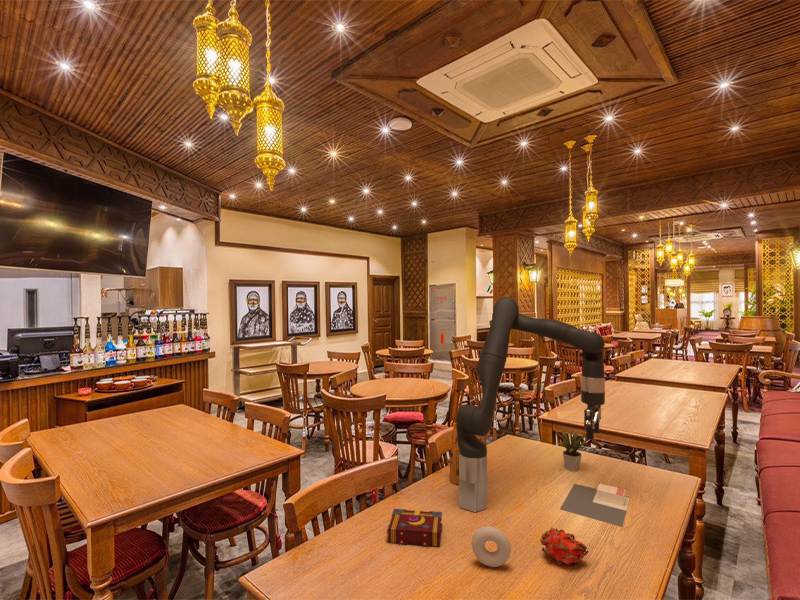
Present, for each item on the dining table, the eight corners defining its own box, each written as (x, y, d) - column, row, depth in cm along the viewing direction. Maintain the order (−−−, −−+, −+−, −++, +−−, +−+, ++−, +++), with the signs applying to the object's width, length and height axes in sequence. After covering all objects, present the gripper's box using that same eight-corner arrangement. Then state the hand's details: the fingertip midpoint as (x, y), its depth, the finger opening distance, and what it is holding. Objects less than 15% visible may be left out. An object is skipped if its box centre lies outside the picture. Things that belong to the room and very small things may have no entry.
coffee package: (450, 473, 160) (449, 418, 160) (482, 475, 157) (481, 419, 157) (448, 485, 150) (448, 426, 150) (482, 487, 148) (482, 427, 148)
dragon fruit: (536, 558, 110) (584, 575, 105) (538, 556, 103) (589, 574, 99) (541, 524, 114) (587, 539, 110) (543, 520, 107) (592, 536, 103)
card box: (596, 499, 137) (596, 489, 137) (599, 493, 141) (599, 482, 141) (623, 506, 132) (623, 495, 132) (625, 499, 137) (625, 488, 137)
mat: (622, 528, 121) (622, 526, 121) (559, 511, 131) (559, 508, 131) (630, 498, 139) (630, 496, 139) (574, 485, 149) (574, 483, 149)
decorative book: (440, 549, 112) (440, 531, 112) (383, 544, 114) (383, 526, 114) (442, 526, 123) (442, 510, 123) (390, 522, 126) (390, 506, 126)
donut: (511, 564, 105) (510, 526, 105) (511, 573, 102) (511, 533, 102) (472, 558, 108) (472, 521, 107) (471, 566, 104) (470, 528, 104)
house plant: (595, 479, 153) (595, 437, 153) (556, 474, 158) (556, 433, 158) (590, 465, 167) (590, 425, 167) (554, 461, 171) (554, 422, 171)
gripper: (586, 385, 149) (586, 429, 149) (576, 391, 137) (576, 439, 137) (608, 387, 144) (608, 433, 144) (600, 394, 133) (600, 443, 133)
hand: (592, 435), depth 141 cm, fingers open, 8 cm apart
